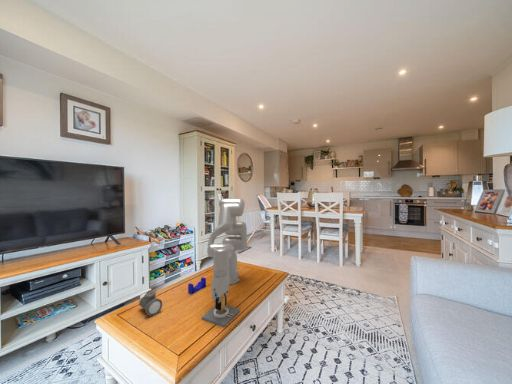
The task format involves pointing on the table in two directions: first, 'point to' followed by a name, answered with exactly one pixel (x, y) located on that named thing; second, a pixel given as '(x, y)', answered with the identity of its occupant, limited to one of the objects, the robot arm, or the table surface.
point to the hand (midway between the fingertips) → (221, 306)
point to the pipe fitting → (151, 303)
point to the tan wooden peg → (222, 302)
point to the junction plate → (221, 315)
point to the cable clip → (197, 286)
